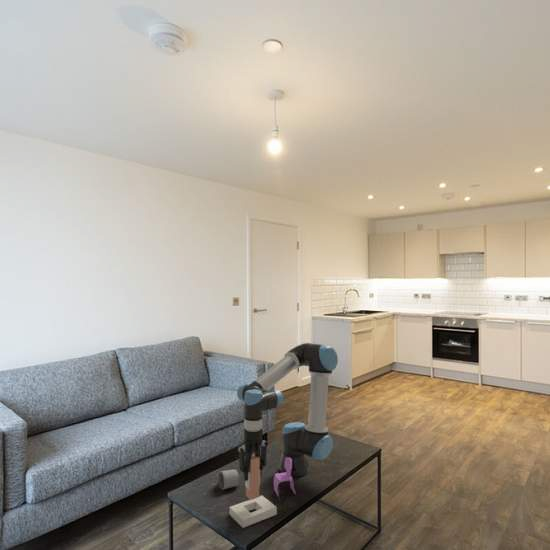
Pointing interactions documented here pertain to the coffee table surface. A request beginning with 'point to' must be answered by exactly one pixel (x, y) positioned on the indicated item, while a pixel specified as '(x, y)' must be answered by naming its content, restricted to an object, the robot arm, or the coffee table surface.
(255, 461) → the peg
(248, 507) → the socket block
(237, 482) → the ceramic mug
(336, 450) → the coffee table surface
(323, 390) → the robot arm
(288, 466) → the toy chair
